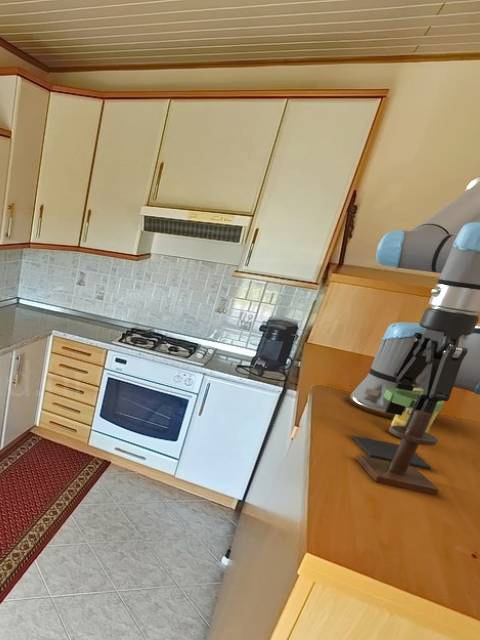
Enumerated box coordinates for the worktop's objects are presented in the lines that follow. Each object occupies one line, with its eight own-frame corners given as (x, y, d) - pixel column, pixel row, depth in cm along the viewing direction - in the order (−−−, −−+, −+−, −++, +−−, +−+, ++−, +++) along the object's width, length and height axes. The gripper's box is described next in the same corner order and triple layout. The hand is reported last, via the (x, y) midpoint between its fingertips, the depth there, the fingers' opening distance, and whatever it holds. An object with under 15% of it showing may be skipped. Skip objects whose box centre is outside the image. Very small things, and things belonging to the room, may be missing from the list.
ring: (377, 392, 102) (380, 385, 101) (425, 401, 99) (429, 394, 99) (395, 405, 94) (398, 398, 94) (448, 415, 92) (451, 407, 91)
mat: (352, 437, 107) (352, 435, 106) (406, 448, 104) (407, 446, 103) (370, 456, 98) (371, 454, 97) (430, 469, 95) (431, 467, 95)
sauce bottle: (384, 434, 110) (422, 350, 103) (390, 428, 114) (426, 347, 107) (422, 446, 106) (463, 359, 99) (426, 440, 110) (467, 356, 103)
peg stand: (356, 460, 95) (382, 399, 91) (411, 472, 93) (441, 409, 88) (375, 481, 87) (405, 416, 83) (436, 495, 85) (470, 428, 80)
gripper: (402, 299, 101) (360, 400, 109) (461, 316, 82) (405, 437, 90) (446, 305, 99) (400, 407, 106) (517, 324, 80) (455, 447, 88)
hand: (402, 421), depth 98 cm, fingers closed on ring, 8 cm apart
